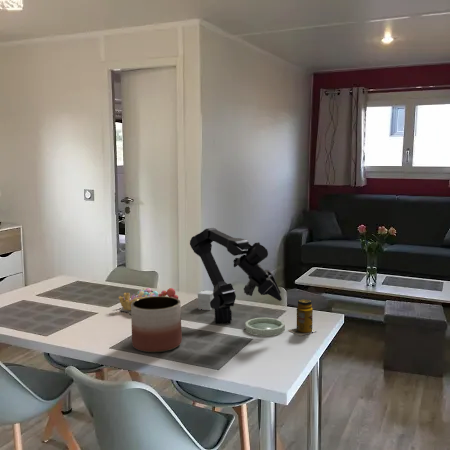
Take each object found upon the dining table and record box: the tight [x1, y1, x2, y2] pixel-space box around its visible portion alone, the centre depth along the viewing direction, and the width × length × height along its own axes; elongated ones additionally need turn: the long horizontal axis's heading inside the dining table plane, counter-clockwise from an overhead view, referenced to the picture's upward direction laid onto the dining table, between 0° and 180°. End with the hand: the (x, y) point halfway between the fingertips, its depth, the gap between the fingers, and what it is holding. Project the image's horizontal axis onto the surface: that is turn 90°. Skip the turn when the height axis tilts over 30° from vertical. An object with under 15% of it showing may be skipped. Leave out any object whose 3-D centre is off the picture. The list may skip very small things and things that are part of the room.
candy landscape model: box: [118, 287, 179, 315], centre depth 226 cm, size 25×24×9 cm
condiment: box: [288, 298, 314, 337], centre depth 192 cm, size 7×8×12 cm
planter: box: [130, 295, 183, 353], centre depth 180 cm, size 18×18×16 cm
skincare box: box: [197, 290, 214, 311], centre depth 225 cm, size 6×6×7 cm
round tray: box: [244, 317, 286, 337], centre depth 196 cm, size 15×15×2 cm
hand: (280, 296), depth 193 cm, fingers open, 9 cm apart
